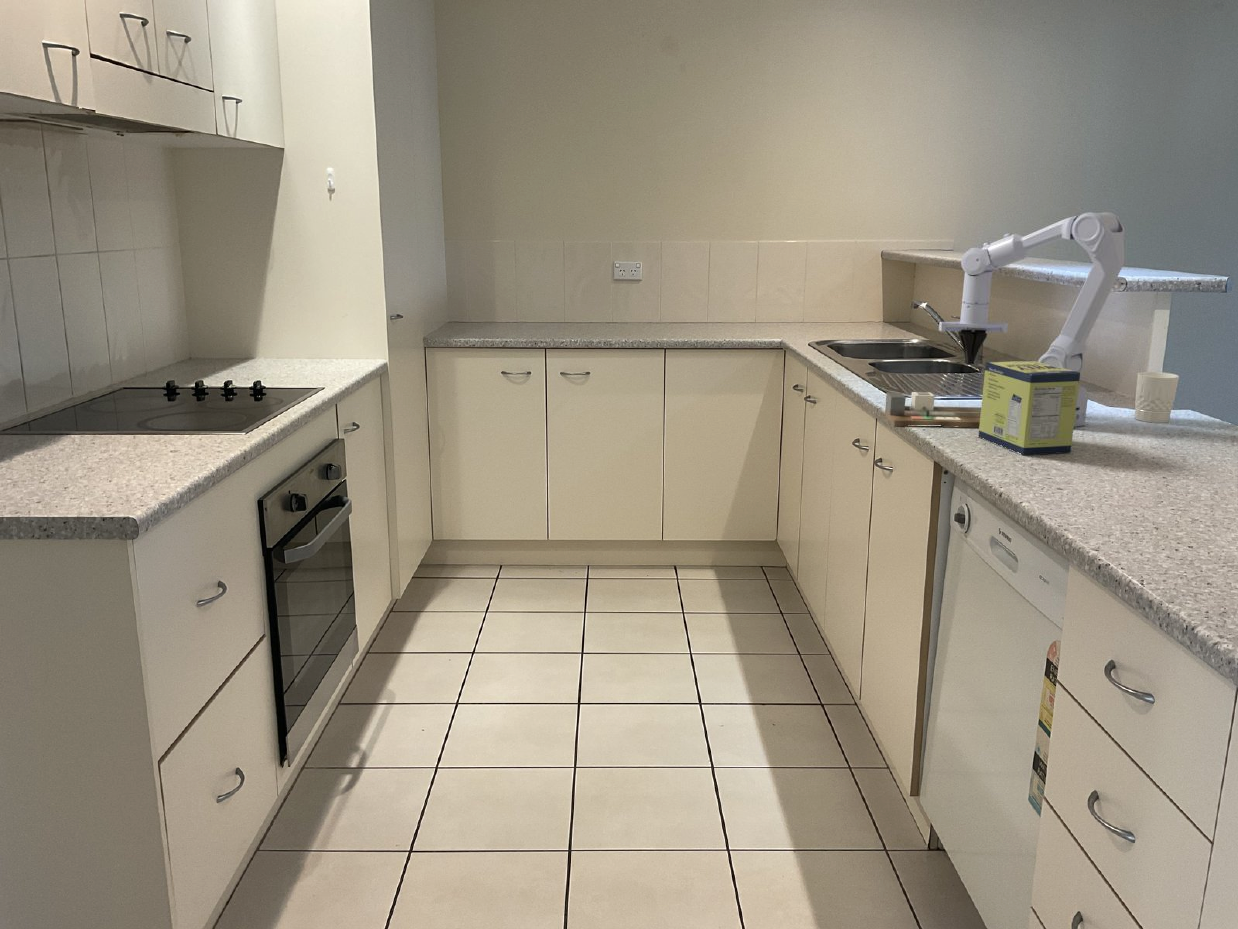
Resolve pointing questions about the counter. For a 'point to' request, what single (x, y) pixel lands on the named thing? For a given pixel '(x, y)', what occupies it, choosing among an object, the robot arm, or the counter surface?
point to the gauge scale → (935, 418)
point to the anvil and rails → (897, 407)
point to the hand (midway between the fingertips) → (969, 363)
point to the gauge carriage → (922, 402)
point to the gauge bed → (933, 421)
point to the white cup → (1155, 396)
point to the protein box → (1029, 406)
